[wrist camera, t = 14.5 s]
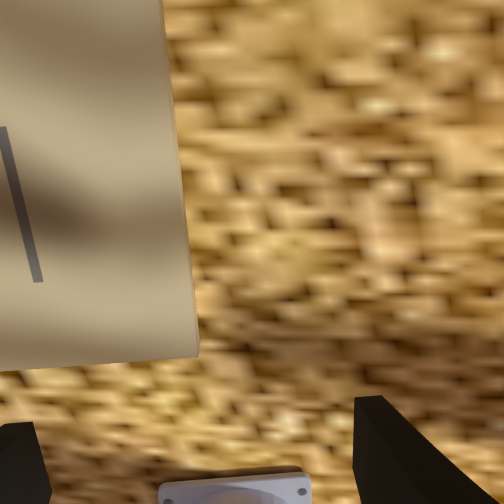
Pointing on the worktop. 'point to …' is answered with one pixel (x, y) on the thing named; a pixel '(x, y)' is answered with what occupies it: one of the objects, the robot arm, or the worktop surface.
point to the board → (90, 188)
